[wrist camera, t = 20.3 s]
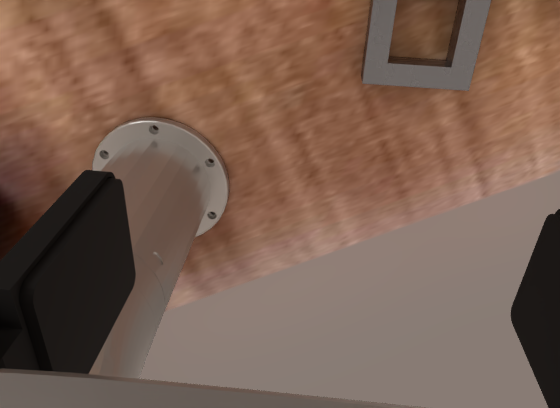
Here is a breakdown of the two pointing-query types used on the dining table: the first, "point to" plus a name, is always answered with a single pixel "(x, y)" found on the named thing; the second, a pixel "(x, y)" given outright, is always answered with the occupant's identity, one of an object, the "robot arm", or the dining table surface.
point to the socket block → (424, 71)
